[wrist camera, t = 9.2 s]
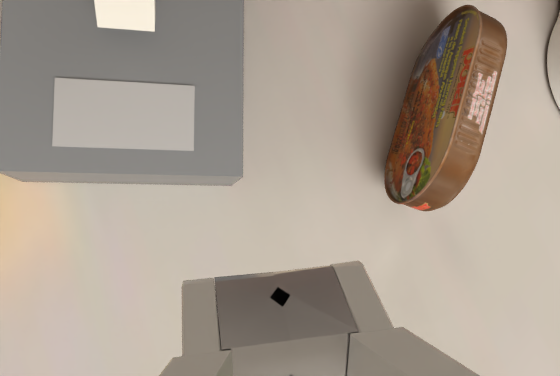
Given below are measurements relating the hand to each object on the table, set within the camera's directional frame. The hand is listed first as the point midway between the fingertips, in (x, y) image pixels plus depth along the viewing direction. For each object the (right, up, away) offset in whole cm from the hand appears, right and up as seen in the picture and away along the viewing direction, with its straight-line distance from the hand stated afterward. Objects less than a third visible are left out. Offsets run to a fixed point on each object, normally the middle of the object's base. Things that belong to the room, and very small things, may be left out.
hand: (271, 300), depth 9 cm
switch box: (-10, +11, +29) cm, 32 cm away
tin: (+11, +7, +33) cm, 36 cm away
